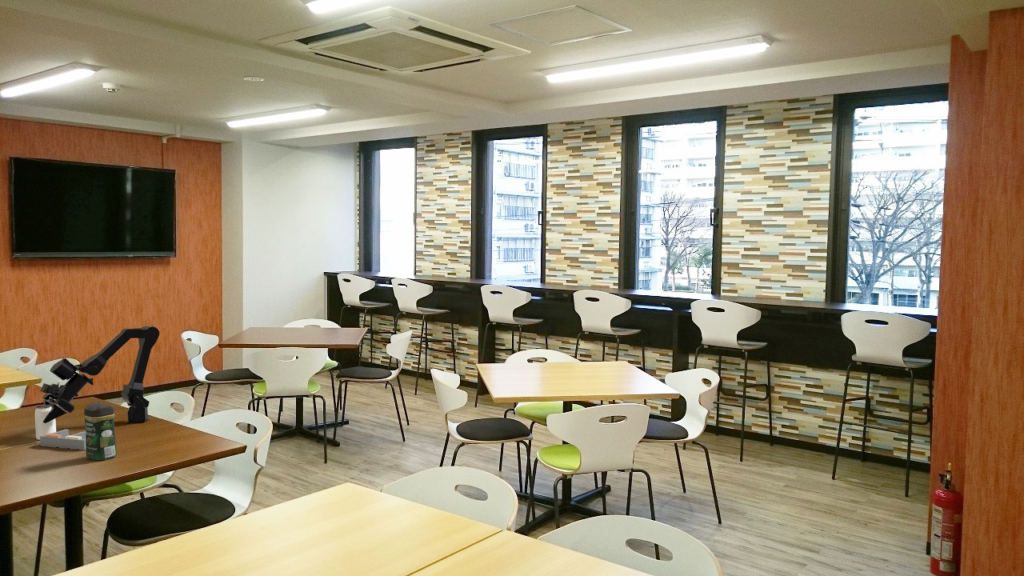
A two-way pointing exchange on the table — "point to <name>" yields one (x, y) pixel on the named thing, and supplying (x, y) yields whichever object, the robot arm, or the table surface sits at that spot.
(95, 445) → the coffee jar
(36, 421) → the can
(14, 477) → the table surface
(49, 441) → the dock
